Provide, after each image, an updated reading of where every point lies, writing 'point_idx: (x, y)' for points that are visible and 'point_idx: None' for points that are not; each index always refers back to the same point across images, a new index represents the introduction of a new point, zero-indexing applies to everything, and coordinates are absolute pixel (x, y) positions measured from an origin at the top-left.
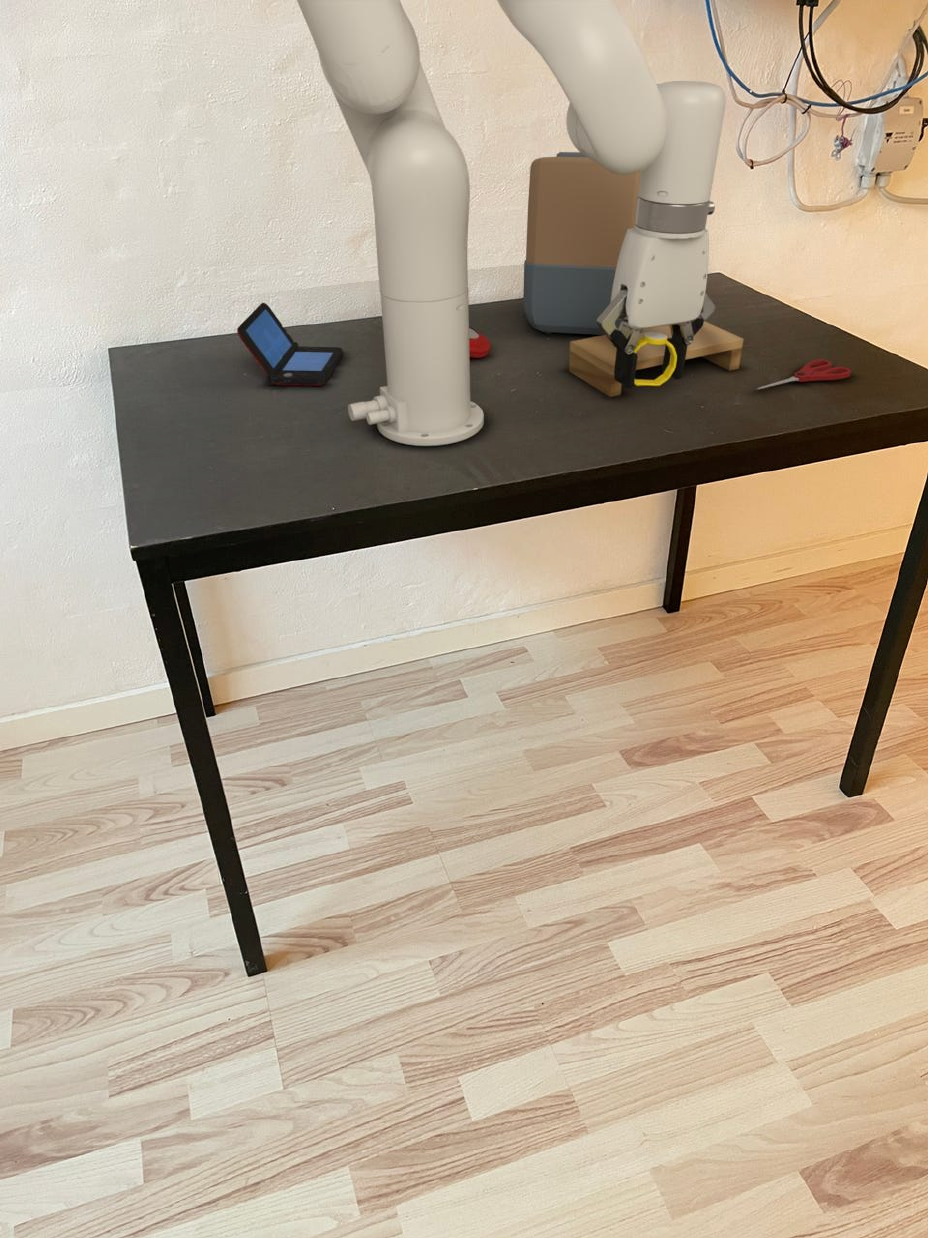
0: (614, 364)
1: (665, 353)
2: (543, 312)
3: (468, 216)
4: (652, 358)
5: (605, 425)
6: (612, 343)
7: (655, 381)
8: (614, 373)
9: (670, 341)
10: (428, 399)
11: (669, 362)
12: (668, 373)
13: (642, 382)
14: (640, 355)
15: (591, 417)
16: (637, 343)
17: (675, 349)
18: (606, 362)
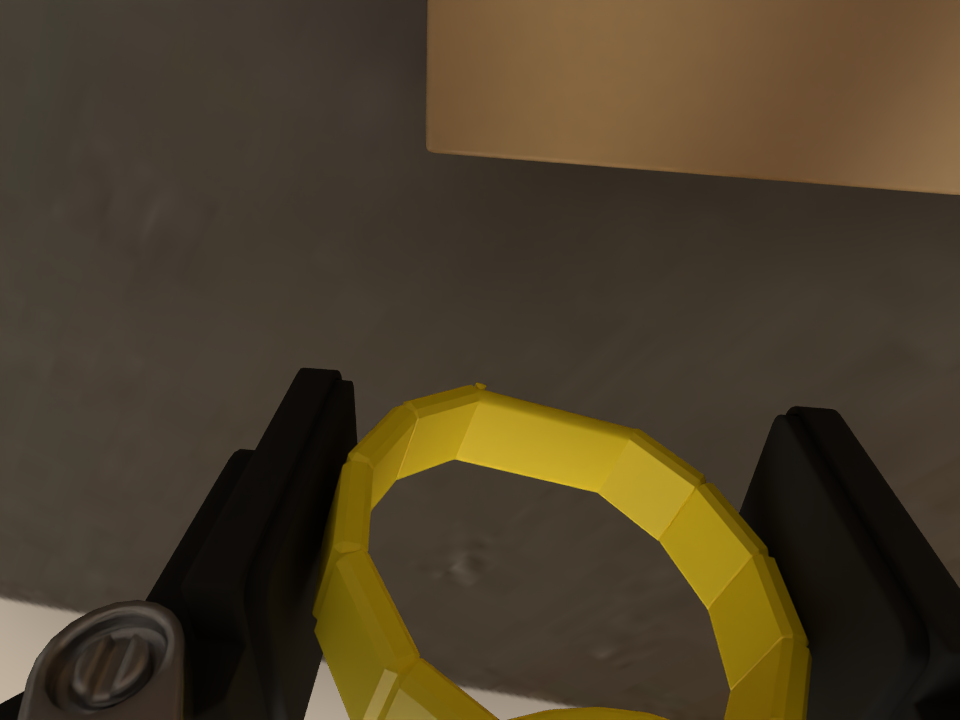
0: (466, 134)
1: (836, 532)
2: None
3: None
4: (953, 192)
5: (234, 398)
6: (49, 643)
7: (613, 460)
8: (238, 454)
9: (897, 686)
10: None
11: (756, 571)
12: (682, 556)
13: (495, 459)
14: (925, 56)
15: (204, 289)
16: (382, 711)
17: (818, 707)
18: (430, 17)
